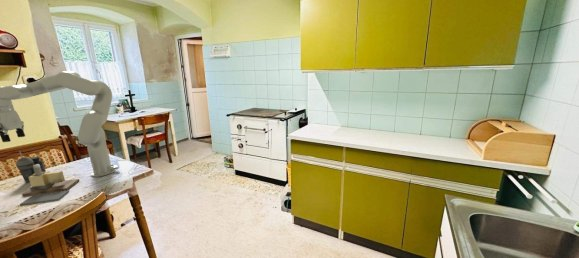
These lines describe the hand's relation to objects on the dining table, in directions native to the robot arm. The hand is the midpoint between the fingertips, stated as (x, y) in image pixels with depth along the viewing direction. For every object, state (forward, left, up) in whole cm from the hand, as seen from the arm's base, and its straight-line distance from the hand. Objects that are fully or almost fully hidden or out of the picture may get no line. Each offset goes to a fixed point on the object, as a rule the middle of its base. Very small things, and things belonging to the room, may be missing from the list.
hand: (14, 139), depth 132 cm
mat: (-21, +23, -28) cm, 42 cm away
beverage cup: (+2, -5, -29) cm, 29 cm away
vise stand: (-17, +10, -28) cm, 34 cm away
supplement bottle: (+4, -15, -29) cm, 32 cm away
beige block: (-16, +10, -25) cm, 31 cm away
